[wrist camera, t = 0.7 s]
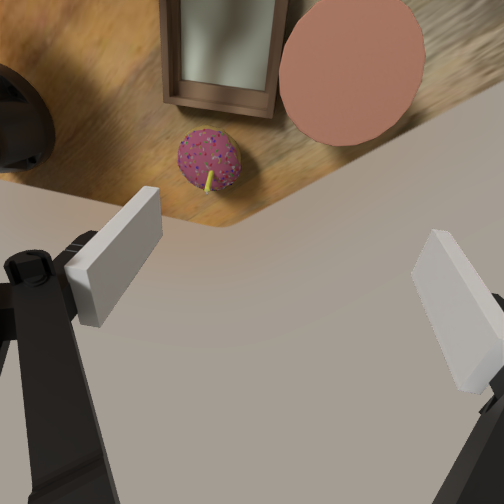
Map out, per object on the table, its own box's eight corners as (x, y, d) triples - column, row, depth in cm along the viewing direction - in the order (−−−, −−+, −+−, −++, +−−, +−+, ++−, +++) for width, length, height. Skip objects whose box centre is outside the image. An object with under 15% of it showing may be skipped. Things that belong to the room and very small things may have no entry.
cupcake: (258, 149, 47) (245, 182, 38) (221, 188, 52) (200, 228, 42) (211, 104, 45) (184, 127, 35) (176, 149, 49) (143, 181, 39)
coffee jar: (350, 118, 43) (372, 167, 29) (274, 83, 42) (257, 116, 28) (400, 25, 37) (461, 27, 23) (314, -18, 36) (318, -45, 22)
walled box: (171, 98, 45) (163, 102, 43) (166, -63, 36) (156, -69, 33) (274, 113, 44) (272, 118, 42) (296, -47, 35) (295, -52, 33)
